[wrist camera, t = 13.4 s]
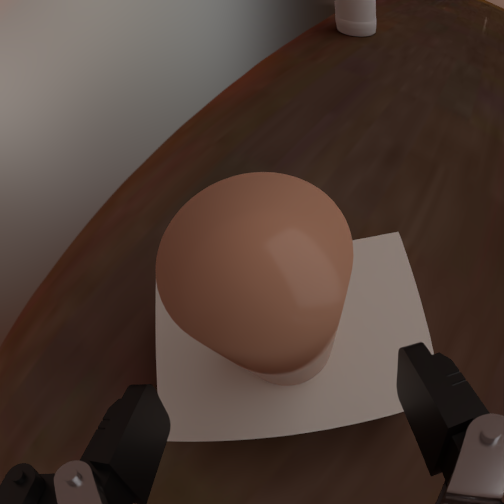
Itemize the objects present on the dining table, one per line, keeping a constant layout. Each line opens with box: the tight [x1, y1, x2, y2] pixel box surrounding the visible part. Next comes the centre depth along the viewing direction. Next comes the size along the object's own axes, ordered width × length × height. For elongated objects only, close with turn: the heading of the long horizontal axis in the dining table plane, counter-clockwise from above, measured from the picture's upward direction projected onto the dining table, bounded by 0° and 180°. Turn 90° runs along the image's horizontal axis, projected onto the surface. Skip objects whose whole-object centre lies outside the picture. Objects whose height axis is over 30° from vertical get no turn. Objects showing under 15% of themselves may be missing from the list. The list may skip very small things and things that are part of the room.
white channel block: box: [156, 232, 434, 442], centre depth 22 cm, size 18×12×6 cm, turn 96°
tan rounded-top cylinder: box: [156, 172, 354, 386], centre depth 14 cm, size 6×6×12 cm
